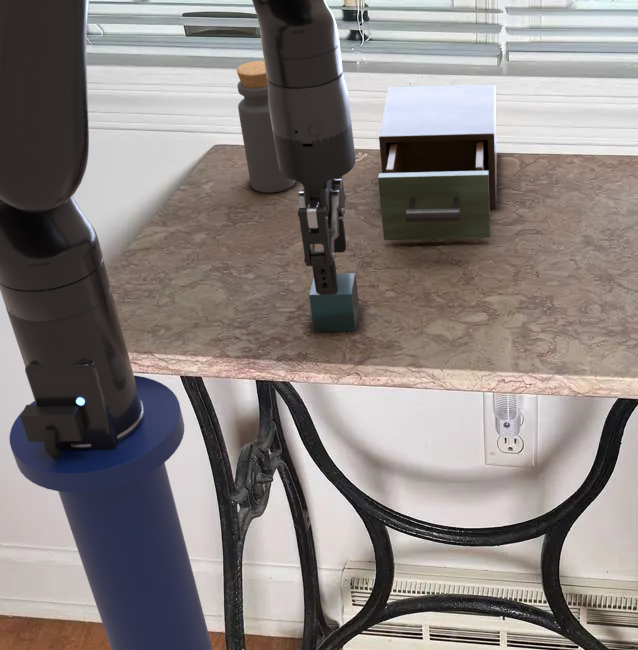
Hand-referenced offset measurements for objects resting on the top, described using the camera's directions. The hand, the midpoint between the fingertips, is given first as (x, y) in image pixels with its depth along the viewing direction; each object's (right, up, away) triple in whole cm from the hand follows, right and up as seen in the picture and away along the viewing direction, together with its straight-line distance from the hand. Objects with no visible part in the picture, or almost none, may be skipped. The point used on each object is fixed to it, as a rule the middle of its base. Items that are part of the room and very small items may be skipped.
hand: (332, 271), depth 123 cm
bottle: (-11, +17, +30) cm, 36 cm away
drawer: (+11, +10, +19) cm, 24 cm away
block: (0, -5, +3) cm, 6 cm away
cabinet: (+11, +16, +28) cm, 35 cm away
